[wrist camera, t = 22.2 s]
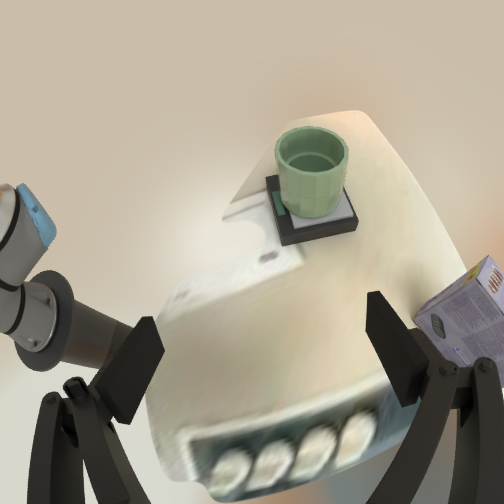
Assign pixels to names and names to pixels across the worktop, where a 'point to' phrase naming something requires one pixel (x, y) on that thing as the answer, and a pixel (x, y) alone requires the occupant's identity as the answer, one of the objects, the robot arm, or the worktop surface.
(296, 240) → the scale
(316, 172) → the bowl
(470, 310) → the cake pan box
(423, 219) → the worktop surface
